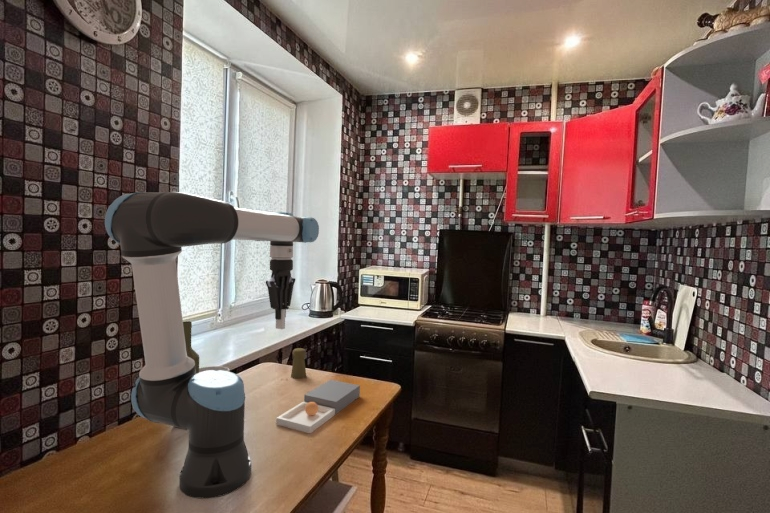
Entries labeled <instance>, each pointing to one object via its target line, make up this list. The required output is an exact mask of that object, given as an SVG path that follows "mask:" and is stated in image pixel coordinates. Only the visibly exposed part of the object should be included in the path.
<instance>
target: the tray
mask: <svg viewBox="0 0 770 513" xmlns="http://www.w3.org/2000/svg"><path fill="white" fill-rule="evenodd" d="M307 403H308V402H304V400H303V401H302V402H300V403H298V404H297V405H295V406H293V407H292V408H290V409H288V410H287V411H285V412H283V413H282V414H280V415H278V416H277V417H276V418H275V419H276V420H275V421H276V422H275V425H277V426H280V427H284V428H288V429H291V430H295V431H300V432H302V433H307V434H312V433H313V432H315V431H316V430H317V429H318V428H320V427H321V426H322V425H323V424H325V423H326V422H328V421H329V420H330V419H331V418H333V417H334V416H335V415H336V414H335V409H334V408H330V407H325V406H321V405H318V411H317V413H316V414H315V415H308V414H307V413H306V412H305V406H306V405H307Z"/></svg>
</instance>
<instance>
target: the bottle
mask: <svg viewBox="0 0 770 513" xmlns="http://www.w3.org/2000/svg"><path fill="white" fill-rule="evenodd" d="M183 327H184V336H185V344H186V352H187V356H188V357H190V358H192V359H193V360H194V361H195V368H196V374H197V373H199V368H200V355H199V354H198V352H196V351H195V350H194V349H193V347H192V327H193V325H192V321H188V320H187V321H183Z"/></svg>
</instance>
